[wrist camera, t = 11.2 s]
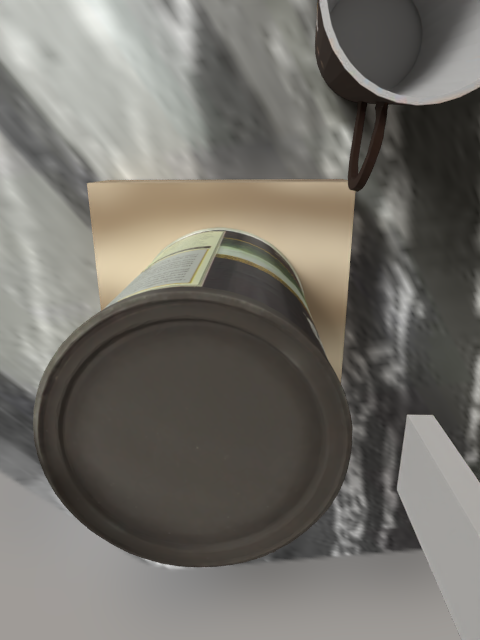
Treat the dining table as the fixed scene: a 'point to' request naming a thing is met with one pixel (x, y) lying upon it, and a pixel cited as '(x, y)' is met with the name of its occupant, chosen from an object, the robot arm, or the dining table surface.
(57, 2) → the dining table surface
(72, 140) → the dining table surface
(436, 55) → the coffee mug
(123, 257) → the oak riser
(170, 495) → the coffee can
